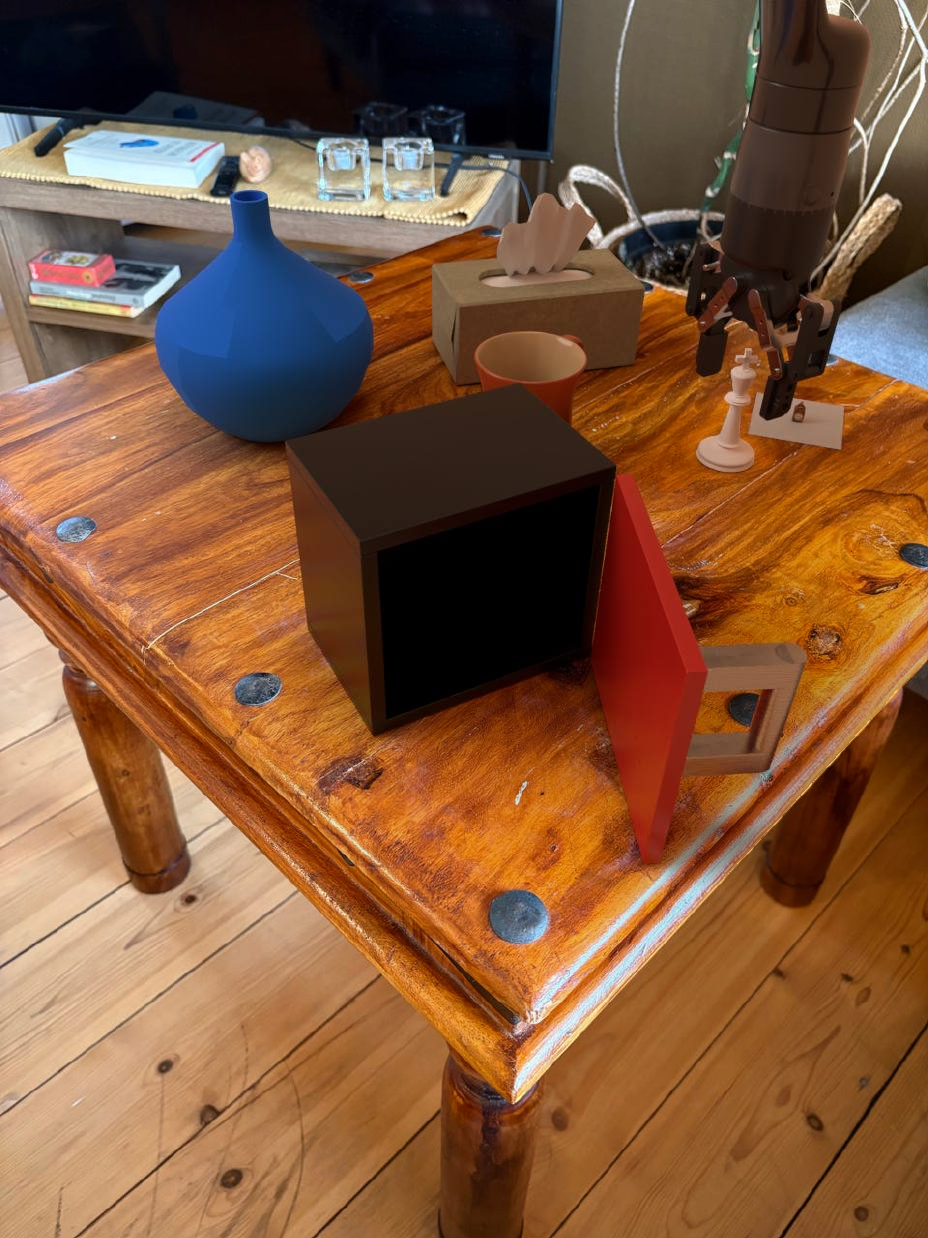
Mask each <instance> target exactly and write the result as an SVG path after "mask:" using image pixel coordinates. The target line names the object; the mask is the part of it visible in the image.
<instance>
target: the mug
mask: <svg viewBox="0 0 928 1238" xmlns="http://www.w3.org/2000/svg"><path fill="white" fill-rule="evenodd" d="M474 358H475V363H476V366H477V370H478V373H479V376H480V380H481V383H480V384H481V392H483V391H487V390H491V389H495V388H499V387H503V386H507V385H511V384H515V383H521V384H523V385H524V386H525V387H526V388H527V389H528V390H530V391H531V392H532V393H533V394H534V395H535V396H537V397H538V398H539V399H540V400H541V401H542V402H543V403H545V404H546V405H547V406H548V407H549V408H550V409H552V410H553V411H554V412H555V413H556V414H557V415H559V416H560V417H561V418H562V419H563V420H564V421H566V422H567V423H568V424H569V425H570V426H571V427H573V409H574V400H575V399H574V398H575V395H576V391H577V388H578V386H579V383H580V381H581V379H582V377H583V374H584V373H585V371H586V370H585V368H586V365H587V356H586V354H585V352H584V347H583V342H582V340H581V339H580V338H578V337H576V336H573V335H568V334H566V335H562V336H558V335H554V334H550V333H545V332H537V331H519V332H510V333H504V334H500V335H497V336H494V337H491V338H489V339H487V340H485V341H484V342H482V343H481V344H480V345H479V346H478V347H477V349H476V351H475V355H474Z"/></svg>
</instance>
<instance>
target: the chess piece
mask: <svg viewBox="0 0 928 1238" xmlns="http://www.w3.org/2000/svg"><path fill="white" fill-rule="evenodd" d="M744 349H745V350H744V354H736V355H735V358H734V360H735V363H737V364H741V365H738V366H735V367H733V368H732V369H730V378H731V387H732V390H731V391H728V392H726V394H725V396H724V401H725V402H726V403H727V404H729V408H728V411H727V414H726V417H725V419H724V422H723V425H722V427H721V430H720V433H719V434H716V435H711V436H707V437H705V438H703V439H702V440H701V441H700V442H699V444H698V445H697V448H696V451H695V456H696V458H697V460H698V461H699V462H700V463H701V464H702V465H704V466H705V467H706V468H709V469H711V470H714V471H718V472H722V473H739V472H744V471H747V470H749V469H750V468H751V467H752V466H753V465H754V463H755V454H756V453H755V450H754V448H753V447H752V445H750V444H749V443H748V442H747V441H745V440H743V439H742V438H741V436H740V434H741V433H740V431H741V420H742V412H743V411H742V410H743V407H745V406H748V405H750V404H751V403H752V398H751V396H750V394H748V393H747V392H748V390H749V389H750V387H751V385H752V384H753V382H754V381H755V379H756V377H757V372H756V370H755V369H754V368H751V367H750V364H758V361H759V356H758V355H753V354H752V353H753V349H752V347H745V348H744Z"/></svg>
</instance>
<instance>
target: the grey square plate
mask: <svg viewBox="0 0 928 1238" xmlns="http://www.w3.org/2000/svg"><path fill="white" fill-rule="evenodd" d="M763 395H764V392H758V391H756V395H755V399H754V405H753V410H752V414H751V419H750V423H749V427H748V428H749V429H748V433H747V435H752V436H758V437H764V438H770V439H775V440H781V441H788V442H793V443H798V444H804V445H811V446H816V447H823V448H827V449H828V448H829V449H833V450H840V451H842V444H843V443H842V442H843V431H844V430H843V428H844V413H845V406H844V405H837V404H833V403H826V402H820V401H813V400H807V399H801V398H795V397H793V401H792V405H791V409H790V410H789V411H788V413H786V414H784V415H783V416H782V417H779V418H776V419H773V420H769V421H766V420H765V419H763V418H762V417H760V416H759V412H760V408H761V403H762V399H763Z"/></svg>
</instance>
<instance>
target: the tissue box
mask: <svg viewBox="0 0 928 1238" xmlns="http://www.w3.org/2000/svg"><path fill="white" fill-rule="evenodd" d="M597 221H598V220H597V219H596V218H595V217H592V216H591V215H589V214H588V213H587V211H586V210H585V208H584V207H583V206H582V205H581V204H580V203H578V202H574V203H573V204H572V206H571V207H570V208H569V209H568V208H565V207H563V206H562V205H560V203H559V202H558V201H557V199H556V197H554V195H553V194H552V193H548V192H546V191H545V192H543V193H541V194H539V195H537V198H536V199H535V201H534V203H533V205H532V207H531V211H530V213H529V216H528V219H527V221H526V222H522V223H518V222H514V221H509V222H508V223H507V224H506V225H505V226H504V227H503V228H502V230H501V234H500V237H499V241H498V245H497V247H496V257H495V258H494V257H493V258H483V259H473V260H461V261H451V262H449V261H448V262H439V263H433V265H431V310H432V312H431V314H432V316H431V317H432V318H431V319H432V320H431V321H432V322H431V323H432V325H431V326H432V332H431V333H432V342H433V344H434V345H435V347H436V349H437V351H438V353H439V355H440V357H441V358H442V361H443V362H444V364H445V367H446V369H447V370H448V371H449V374H450V375H451V377H452V379H453V381H454V382H455V384H456V385H457V386H464V385H474V384H481V380H480V376H479V373H478V370H477V366H476V363H475V358H474V355H475V351H476V349H477V347H478V346H479V345H480V344H481V343H482V342H484V341H485V340H487V339H489V338H491V337H494V336H497V335H500V334H504V333H510V332H519V331H537V332H545V333H550V334H554V335H558V336H562V335H566V334H568V335H573V336H576V337H578V338H580V339H581V340H582V342H583V347H584V352H585V354H586V356H587V365H586V368H585V370H584V371H592V370H600V369H608V368H617V367H625V366H626V367H627V366H633V365H634V364H635V363H636V359H637V358H636V357H637V350H638V345H639V335H640V330H641V329H640V328H641V322H642V314H643V308H644V300H645V293H646V286H645V285H644V284H643V283H642V282H641V281H640V280H639V279H638V278H637V277H636V276H635V275H634V273H632V272H631V271H630V270H629V269H628V267H626V266H625V265H624V263H622V262H621V261H620V259H618V258H617V257H616V256H615V254H614V253H612V251H611V250H610V249H608V248H607V247H605V248H593V249H583V250H579V249H580V247H581V246H582V244H583V242H584V241H585V239H586V238H587V236H588V235H589V233H590V232H591V230H593V228H594V226H595V225H596V223H597Z"/></svg>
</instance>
